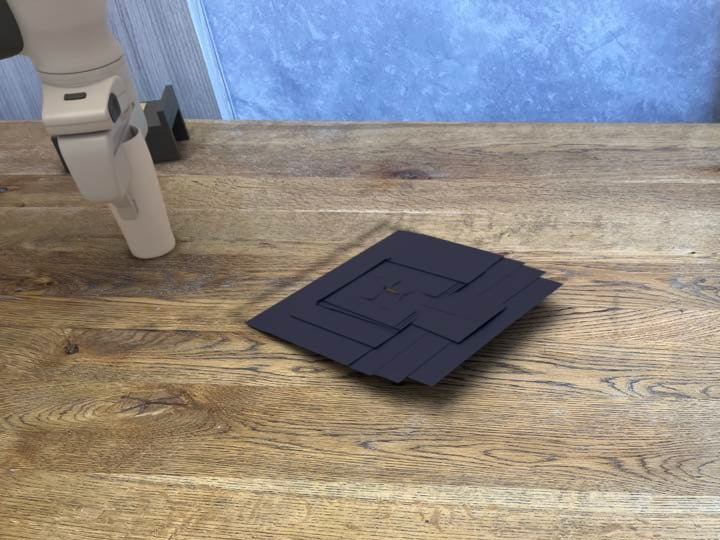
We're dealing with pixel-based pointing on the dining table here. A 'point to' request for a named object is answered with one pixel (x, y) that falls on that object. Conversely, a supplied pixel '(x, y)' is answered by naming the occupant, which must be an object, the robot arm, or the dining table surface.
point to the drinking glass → (144, 204)
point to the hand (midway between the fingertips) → (136, 201)
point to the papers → (408, 306)
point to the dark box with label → (157, 128)
